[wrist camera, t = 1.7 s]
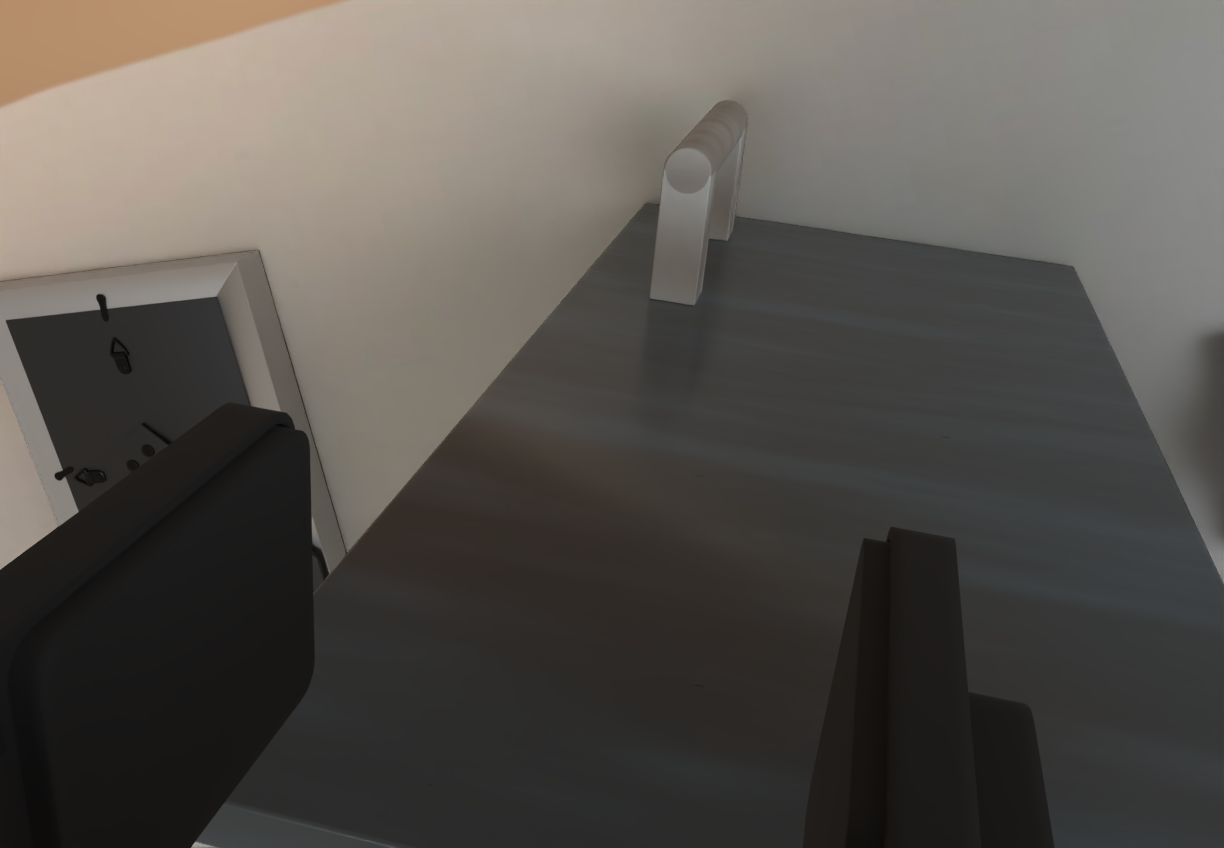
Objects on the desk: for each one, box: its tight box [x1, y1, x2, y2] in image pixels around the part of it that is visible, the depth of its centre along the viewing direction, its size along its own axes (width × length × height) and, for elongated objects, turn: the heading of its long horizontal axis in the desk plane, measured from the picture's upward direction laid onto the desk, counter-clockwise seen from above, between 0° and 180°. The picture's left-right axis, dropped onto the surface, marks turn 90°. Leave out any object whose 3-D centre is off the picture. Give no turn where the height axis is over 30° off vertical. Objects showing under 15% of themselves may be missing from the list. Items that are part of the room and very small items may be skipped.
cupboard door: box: [195, 100, 1224, 848], centre depth 32 cm, size 6×18×38 cm, turn 85°
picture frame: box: [0, 250, 346, 593], centre depth 61 cm, size 16×3×21 cm
